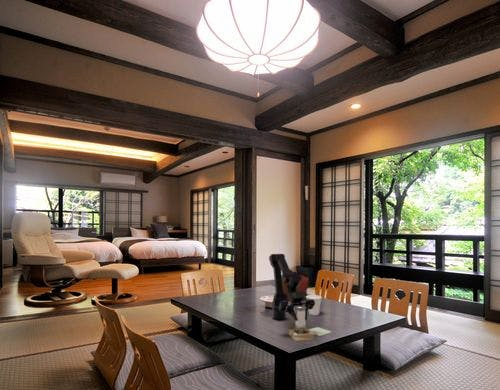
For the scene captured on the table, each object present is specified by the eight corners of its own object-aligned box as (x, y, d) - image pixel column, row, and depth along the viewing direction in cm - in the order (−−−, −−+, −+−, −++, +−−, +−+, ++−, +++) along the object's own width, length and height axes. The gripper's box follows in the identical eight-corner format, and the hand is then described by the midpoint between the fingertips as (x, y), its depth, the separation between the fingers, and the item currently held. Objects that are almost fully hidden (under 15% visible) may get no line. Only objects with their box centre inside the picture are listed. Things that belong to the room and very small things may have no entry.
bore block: (288, 335, 168) (288, 329, 168) (306, 333, 170) (306, 327, 171) (295, 342, 158) (295, 335, 159) (314, 340, 161) (314, 334, 161)
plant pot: (278, 297, 256) (277, 275, 258) (301, 296, 260) (300, 274, 261) (284, 302, 238) (284, 279, 239) (309, 301, 241) (309, 278, 243)
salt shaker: (292, 332, 164) (292, 306, 165) (298, 329, 169) (298, 304, 170) (302, 335, 160) (302, 308, 162) (308, 332, 165) (308, 305, 166)
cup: (319, 312, 212) (319, 295, 213) (323, 316, 202) (323, 298, 203) (304, 312, 212) (304, 295, 213) (308, 316, 202) (307, 298, 203)
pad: (305, 331, 174) (305, 330, 174) (317, 328, 180) (317, 327, 180) (319, 336, 166) (319, 335, 166) (332, 332, 172) (332, 331, 172)
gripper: (280, 285, 168) (287, 312, 156) (313, 283, 173) (323, 310, 161) (275, 297, 175) (282, 324, 163) (307, 295, 179) (316, 322, 168)
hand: (301, 320), depth 164 cm, fingers closed on salt shaker, 5 cm apart
